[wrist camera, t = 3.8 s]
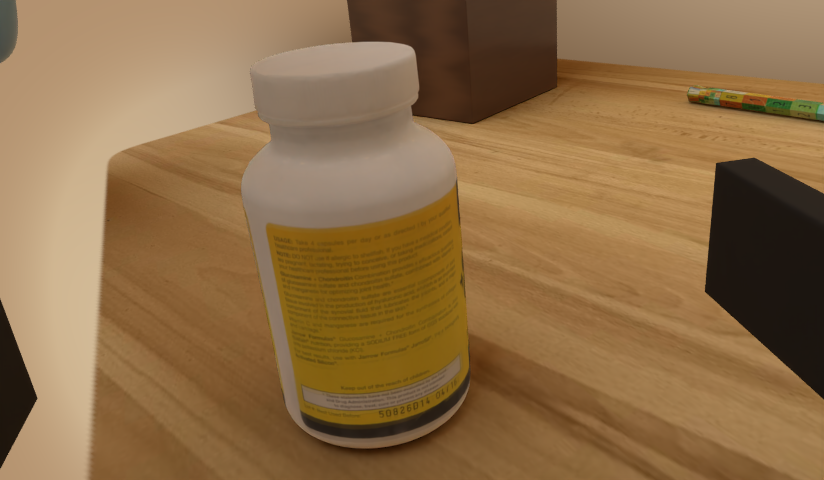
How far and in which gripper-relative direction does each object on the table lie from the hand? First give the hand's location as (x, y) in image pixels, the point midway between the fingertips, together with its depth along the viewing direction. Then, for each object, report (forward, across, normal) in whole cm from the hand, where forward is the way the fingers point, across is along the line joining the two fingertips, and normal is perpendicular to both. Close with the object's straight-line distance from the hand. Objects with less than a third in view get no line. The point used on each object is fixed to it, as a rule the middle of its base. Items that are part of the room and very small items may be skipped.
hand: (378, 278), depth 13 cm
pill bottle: (+9, 0, -9) cm, 13 cm away
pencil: (+31, +32, -9) cm, 45 cm away
